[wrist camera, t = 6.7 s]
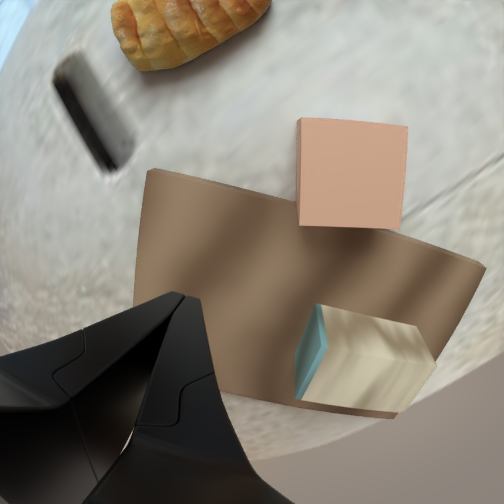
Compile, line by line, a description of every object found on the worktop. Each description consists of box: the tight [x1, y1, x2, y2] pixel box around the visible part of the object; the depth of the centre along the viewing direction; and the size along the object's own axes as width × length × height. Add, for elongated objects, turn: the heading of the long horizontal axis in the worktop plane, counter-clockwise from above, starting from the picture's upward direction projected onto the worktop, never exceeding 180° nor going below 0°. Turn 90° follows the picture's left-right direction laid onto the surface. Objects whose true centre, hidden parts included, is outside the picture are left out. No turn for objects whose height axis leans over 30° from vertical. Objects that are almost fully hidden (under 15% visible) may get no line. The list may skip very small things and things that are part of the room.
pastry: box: [111, 0, 271, 71], centre depth 14 cm, size 9×7×4 cm
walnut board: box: [133, 168, 486, 419], centre depth 22 cm, size 24×16×1 cm, turn 76°
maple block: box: [295, 303, 437, 413], centre depth 19 cm, size 4×4×8 cm
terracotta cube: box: [296, 117, 408, 229], centre depth 16 cm, size 5×5×5 cm
